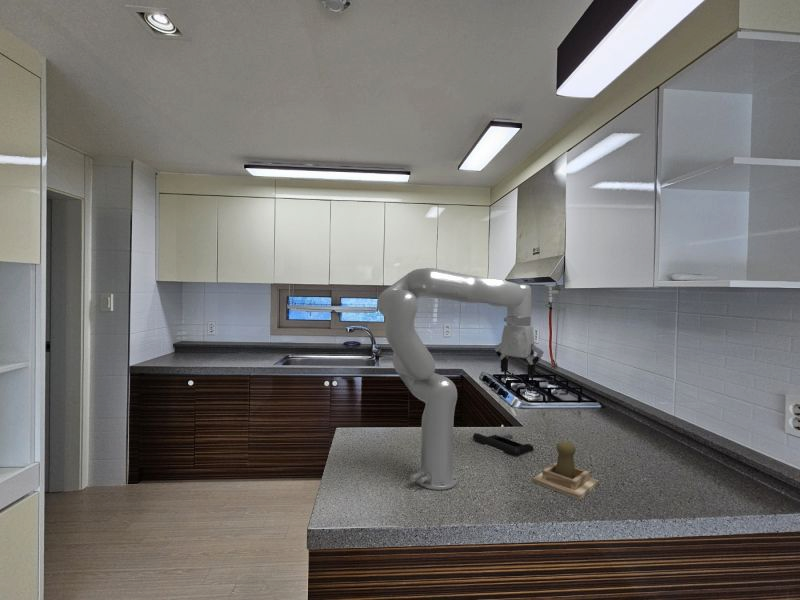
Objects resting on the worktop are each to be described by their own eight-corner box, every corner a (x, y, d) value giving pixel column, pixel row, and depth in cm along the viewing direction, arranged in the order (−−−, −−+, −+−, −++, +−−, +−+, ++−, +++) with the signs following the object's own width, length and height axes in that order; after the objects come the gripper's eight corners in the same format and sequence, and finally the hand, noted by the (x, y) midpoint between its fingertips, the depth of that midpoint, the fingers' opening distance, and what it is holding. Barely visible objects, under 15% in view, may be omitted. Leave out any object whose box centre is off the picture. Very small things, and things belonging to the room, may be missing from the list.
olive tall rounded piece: (550, 478, 122) (551, 442, 121) (559, 472, 126) (560, 437, 126) (571, 486, 117) (572, 448, 117) (579, 479, 122) (580, 443, 121)
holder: (579, 500, 112) (579, 486, 112) (532, 482, 122) (532, 470, 122) (598, 484, 121) (599, 472, 121) (553, 468, 132) (554, 457, 132)
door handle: (497, 428, 165) (470, 433, 155) (541, 443, 149) (514, 450, 139) (496, 436, 165) (470, 442, 155) (540, 452, 149) (514, 459, 139)
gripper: (489, 320, 137) (488, 371, 137) (537, 324, 124) (536, 379, 125) (501, 320, 142) (500, 368, 142) (549, 323, 130) (547, 376, 130)
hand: (517, 373), depth 133 cm, fingers open, 9 cm apart
